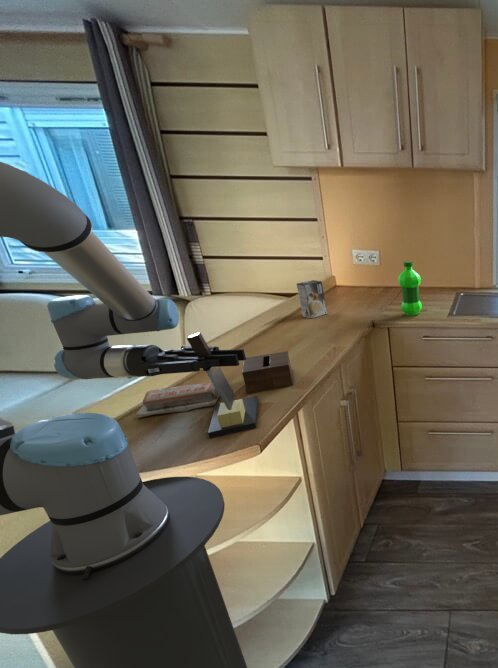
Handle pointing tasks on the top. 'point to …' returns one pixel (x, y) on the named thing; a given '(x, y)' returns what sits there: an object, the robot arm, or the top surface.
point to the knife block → (267, 372)
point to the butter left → (224, 416)
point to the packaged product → (178, 399)
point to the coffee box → (312, 298)
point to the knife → (213, 370)
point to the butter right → (237, 412)
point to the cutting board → (248, 423)
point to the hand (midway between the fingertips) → (240, 357)
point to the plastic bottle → (410, 289)
